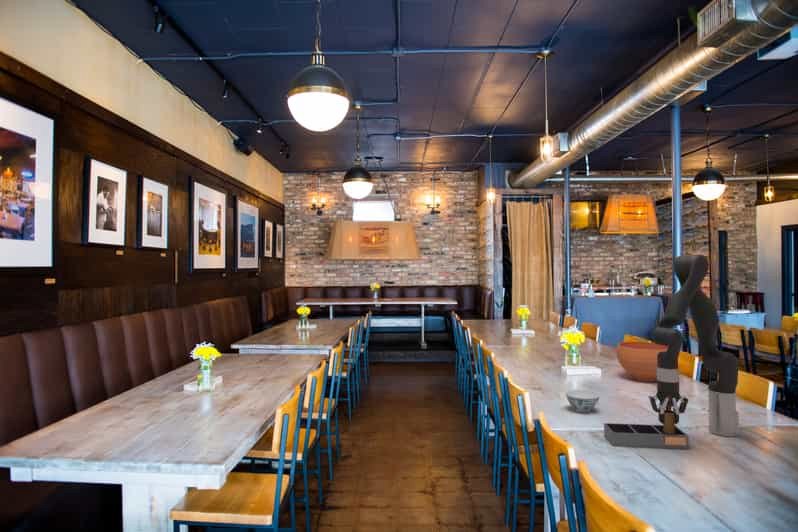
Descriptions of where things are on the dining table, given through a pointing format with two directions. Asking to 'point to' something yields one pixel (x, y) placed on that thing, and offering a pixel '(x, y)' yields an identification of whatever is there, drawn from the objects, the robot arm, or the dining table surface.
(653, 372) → the bowl
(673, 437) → the rack
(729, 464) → the dining table surface
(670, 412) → the brown turned rounded post
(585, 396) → the chinaware
